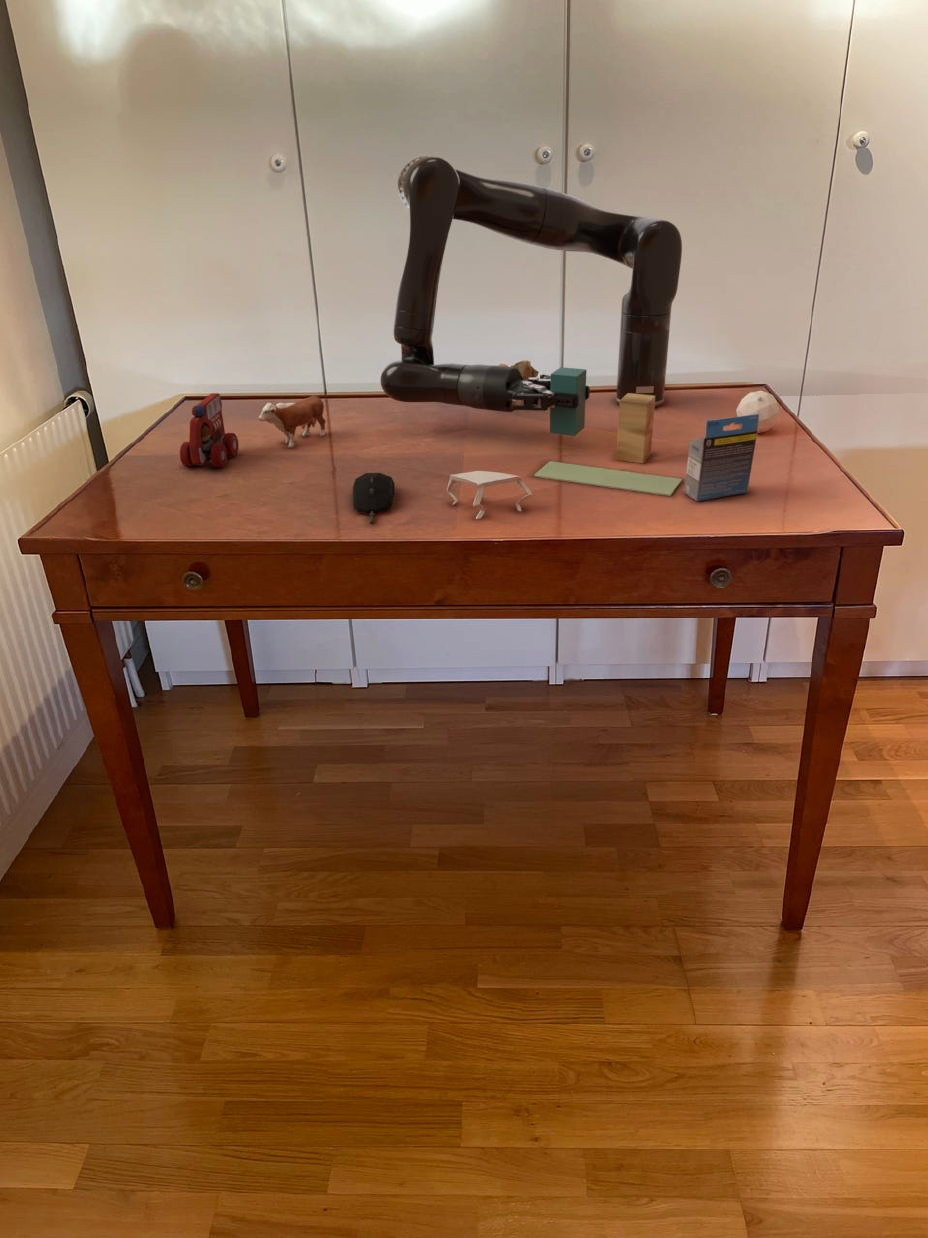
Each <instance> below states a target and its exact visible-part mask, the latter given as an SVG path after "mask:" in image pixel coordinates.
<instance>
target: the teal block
mask: <svg viewBox="0 0 928 1238" xmlns="http://www.w3.org/2000/svg"><path fill="white" fill-rule="evenodd" d="M550 376H551V390H550V391H554V392H556V393H558V392H560V393H570V394H578V395H579V406H578V407H577V408H566V407H555V408H549V434H553V435H554V434H555V435H562V436H563V435H564V436H569V437H570V436H571V437H576V436H577V435H578V434H579V433H581V432H582V431H583V430H584V429H585V423H586V420H585V419H586V400H585V397H586V386H587V369H586V368H585V369H584V368H576V367H575V368H574V367H564V366H563V367H562V366H561V367H559V368H557V369H555V371H553V372H552V373H550Z"/></svg>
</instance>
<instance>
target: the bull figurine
mask: <svg viewBox="0 0 928 1238" xmlns="http://www.w3.org/2000/svg"><path fill="white" fill-rule="evenodd" d="M324 410H325V407H324V402H323V400H322V398H321V397H320V396H319V395H318V394H317V395H316V394H314V395H312V396H309V397H306V398H303V399H301V400H298V401H295V402H287V403H284V402H278V403H276V404H273V403H271V402H267V403H266V404H265V405H264V406H263V408H262V410H261V413H260V414H259V415H258V420H259V422H267V423H268V424H273V425H274V427H275V428H277V429H278V430H279V431H280V432H282V433H283V434H284V435H285V436H286V438H285V441H284V444H285V445H287V449H294V447H295V443H294V438H295V435H296V430H297V427H301V429H302V430H304V429H305V430H304V431H303V433H302V435H301V436H302V437H303V438H306V437H308V436H309V434H310V429H311V427H312V428H315V426H316V423H317V422H318V424H319V425H320V433H319V437H325V435H326V433H327V432H326V419H325V418H324V416H323V415H324Z"/></svg>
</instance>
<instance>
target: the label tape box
mask: <svg viewBox="0 0 928 1238" xmlns="http://www.w3.org/2000/svg"><path fill="white" fill-rule="evenodd" d="M758 419H759V414H754V415H747V416H739V417H737V416H732V417H723V418H714V419H706V420H705V421H704V422H705V430H704V437H702V438H696V439H692V440H690V441H689V447H688V456H687V465H686V473H685V480H684V481H685V482H684V488H683V489H684V490H683V493H684V494H686V495H687V496H688V497H689V498H690V499H692V500H693V501H695V502H701V501H709V500H714V499H719V498H725V497H731V496H737V495H741V494H747V493H748V491H749V485H750V478H751V473H752V467H753V462H754V456H755V448H756V442H757V438H758V433H757V428H758ZM732 424H733V425H734V426H740V427H739V428H734V429H725V430H724V427H729V426H731V425H732Z"/></svg>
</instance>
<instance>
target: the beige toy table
mask: <svg viewBox="0 0 928 1238" xmlns="http://www.w3.org/2000/svg"><path fill="white" fill-rule="evenodd" d="M456 481H457V482H461V483H465V484H468V485H472V486H475V487H477V492H476V494H475V497H474V499H473V503H472V506H473V507H474V508H476V509H478V510H479V512H478V514H477V515H476V517H475V519H476V520H480V519H482V517H483V515H484V514H485V512H486V510H487V509H486V508H485V507H484V506H483V505H482V504H481V502H484V499H485V494H484V493H485V492H484V490H485V488H489V487H493V486H498V485H504V484H509V483H513V482H515V483H518V484H519V486H520V487H521V488H523V490H524V491H525V492H526V493H527V494H525V495H524V496H523V497H522V498H520V499H518V500H517V501H516V502H514V504H515V507H516V510H517V511H518V512H522V507H521V505H520V503H522V502H524V501H525V500H527V499H529V498H530V497H531V496H533V493H532V491H531V490H530V488H529V487H528V486H527V484H526V483H525V482H524V480H523V479H522V477H521V476H518V475H515V474H509V473H504V472H498V471H489V470H488V471H487V470H475V471H468V472H467V471H466V472H461V473H454V474H449V480H448V483H447V487H446V493H447V494H448V495H449V496H450V497H451V498H452V499H453V500H454V502H453V503H452V506H456V505H457V503H458V502H459V499H458V498H457V497H456V496H455V495H454V494H453V493H452V492H451V490H452V487H453V485H454V484H455V483H456Z"/></svg>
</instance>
